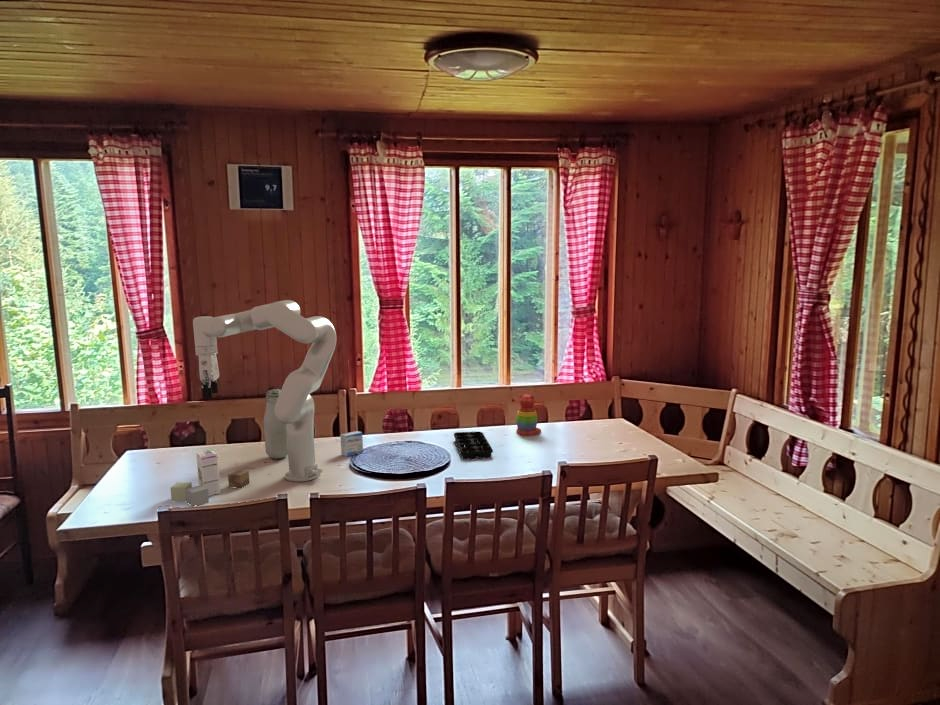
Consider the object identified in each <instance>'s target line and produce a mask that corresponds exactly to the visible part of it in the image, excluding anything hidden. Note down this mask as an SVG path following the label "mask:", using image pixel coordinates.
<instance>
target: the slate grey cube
mask: <svg viewBox="0 0 940 705" xmlns="http://www.w3.org/2000/svg"><path fill="white" fill-rule="evenodd" d="M186 499H187V502H186V504H187V503H189V504H191V505H190V506H191V507H193V506H195V505H200V506H203V505H206V504H208V502H209V501H210V500H209V496H208V488H205V487H203V486H201V485H199V484H198V485H196V486H192V488H189V489H186ZM205 503H206V504H205ZM209 503H210V502H209ZM189 504H188V505H189Z"/></svg>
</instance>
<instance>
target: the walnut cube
mask: <svg viewBox="0 0 940 705" xmlns="http://www.w3.org/2000/svg"><path fill="white" fill-rule="evenodd" d="M227 479H228V480H227V481H228V488H229V487H236V488H235V489H238V488H242V487H243V488H245V487H247V486H248V484H249V483H250V482H251V481H250V472H249V470H245V469H235V470H233V471H231V472H230V473H228V474H227ZM246 485H247V486H246ZM249 485H250V484H249ZM244 486H245V487H244ZM243 488H242V489H243Z"/></svg>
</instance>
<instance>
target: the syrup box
mask: <svg viewBox="0 0 940 705" xmlns="http://www.w3.org/2000/svg"><path fill="white" fill-rule="evenodd" d="M196 464H197V474H198V486H199V485H201V486H203V487H205V488H208V497H210V495H212V496H215V495H214V494H217V495H219V494H218V493H220V494H221V481H220V472H219V463H218V453H216V452H215V451H214V450H213V449H210V450H203V451H199V452H198V451H197V452H196Z"/></svg>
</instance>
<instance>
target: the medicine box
mask: <svg viewBox="0 0 940 705" xmlns="http://www.w3.org/2000/svg"><path fill="white" fill-rule="evenodd" d="M339 436H340V453H341V454H340V455H342V456H344V457H347V458H348V457H351V456H355V454H356V455H359V454H358V453H360V454H362V453H361V452H363V453H364V445H363V443H364V442H363V439H364V438H363V432H362V431H358V430H356V431H355V430H354V431H351V432H347V433H346V432H345V433H341V434H340V435H339Z"/></svg>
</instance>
